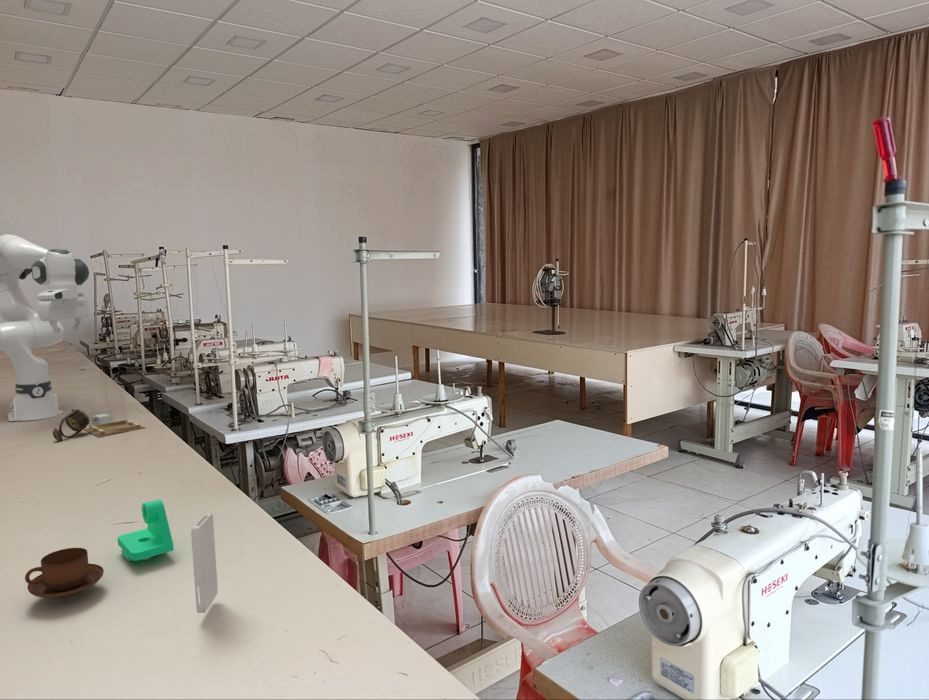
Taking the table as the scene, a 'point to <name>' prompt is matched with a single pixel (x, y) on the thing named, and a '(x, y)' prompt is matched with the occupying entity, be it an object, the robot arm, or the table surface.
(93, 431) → the picture frame
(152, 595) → the table surface
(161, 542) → the camera mount
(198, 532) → the phone case
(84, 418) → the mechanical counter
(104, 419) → the usb wall charger
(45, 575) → the cup and saucer
